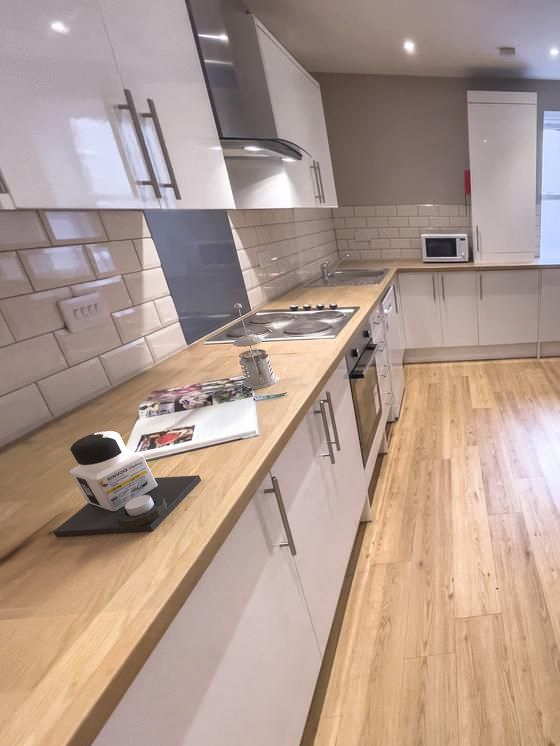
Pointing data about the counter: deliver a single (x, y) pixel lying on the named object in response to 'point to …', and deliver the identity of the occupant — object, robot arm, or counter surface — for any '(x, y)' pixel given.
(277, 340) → the counter surface
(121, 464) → the container
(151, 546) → the counter surface
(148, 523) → the scale
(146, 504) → the button
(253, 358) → the french press
